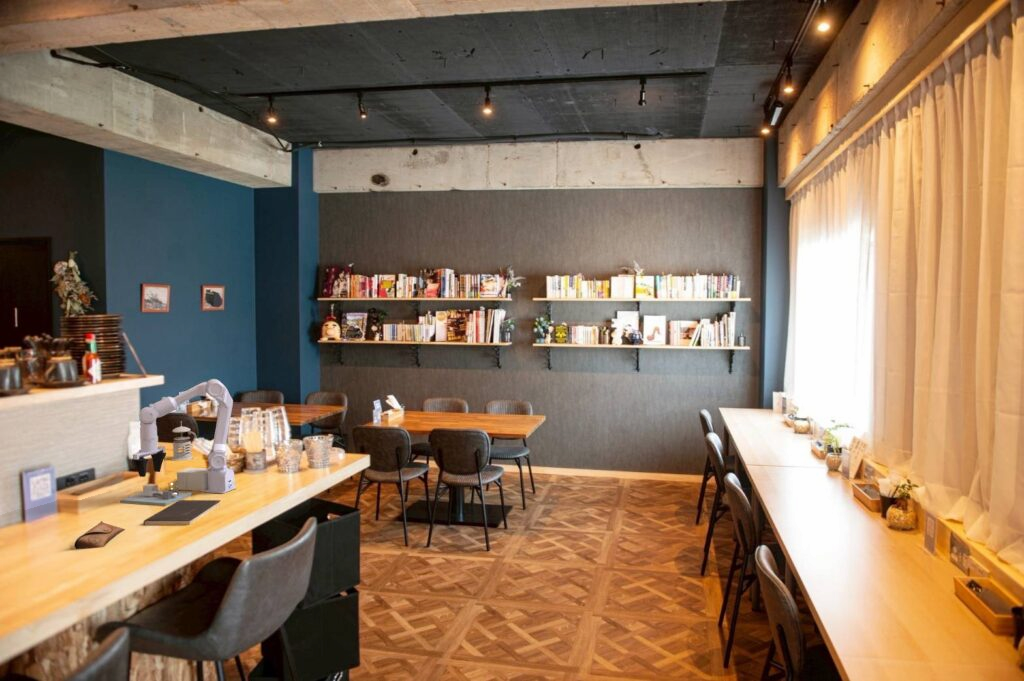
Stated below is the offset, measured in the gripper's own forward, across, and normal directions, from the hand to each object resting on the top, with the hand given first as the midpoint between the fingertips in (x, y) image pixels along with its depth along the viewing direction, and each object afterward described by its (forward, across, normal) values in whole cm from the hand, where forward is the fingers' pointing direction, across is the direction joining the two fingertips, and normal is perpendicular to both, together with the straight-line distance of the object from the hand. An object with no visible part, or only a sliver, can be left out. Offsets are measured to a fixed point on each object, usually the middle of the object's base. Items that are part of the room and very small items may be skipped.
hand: (150, 474), depth 265 cm
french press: (+10, -62, -35) cm, 72 cm away
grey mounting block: (+9, 0, +9) cm, 13 cm away
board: (+10, 0, +2) cm, 10 cm away
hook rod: (+8, 0, +5) cm, 10 cm away
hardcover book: (+10, +14, +26) cm, 31 cm away
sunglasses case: (+10, +42, +18) cm, 47 cm away
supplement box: (+6, -16, +1) cm, 17 cm away
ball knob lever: (+5, -2, +8) cm, 10 cm away
